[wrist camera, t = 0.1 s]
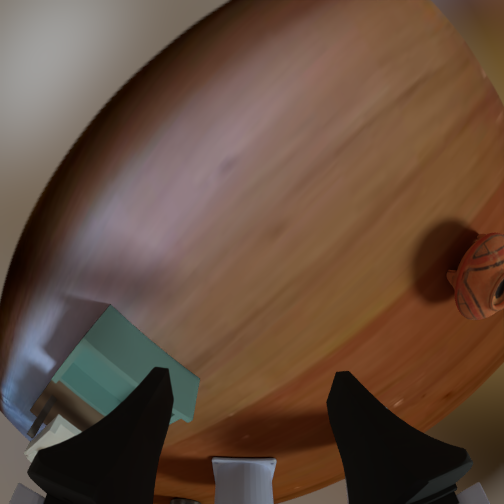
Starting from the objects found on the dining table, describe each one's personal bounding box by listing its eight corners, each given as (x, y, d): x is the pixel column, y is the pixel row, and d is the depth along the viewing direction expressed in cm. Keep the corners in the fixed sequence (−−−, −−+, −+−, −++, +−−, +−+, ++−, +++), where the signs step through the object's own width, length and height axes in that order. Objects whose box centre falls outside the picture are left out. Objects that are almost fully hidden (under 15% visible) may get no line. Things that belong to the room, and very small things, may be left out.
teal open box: (141, 416, 25) (129, 450, 21) (66, 357, 23) (45, 388, 18) (199, 378, 23) (192, 420, 19) (110, 304, 21) (83, 337, 16)
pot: (502, 259, 20) (536, 296, 14) (450, 302, 24) (475, 347, 18) (483, 200, 18) (528, 233, 12) (423, 250, 21) (456, 297, 16)
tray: (96, 475, 25) (88, 498, 21) (35, 433, 23) (22, 455, 18) (152, 457, 22) (144, 491, 18) (66, 400, 19) (48, 433, 15)
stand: (100, 457, 29) (87, 493, 22) (32, 406, 26) (11, 440, 19) (157, 431, 26) (144, 483, 19) (65, 361, 23) (32, 408, 16)
